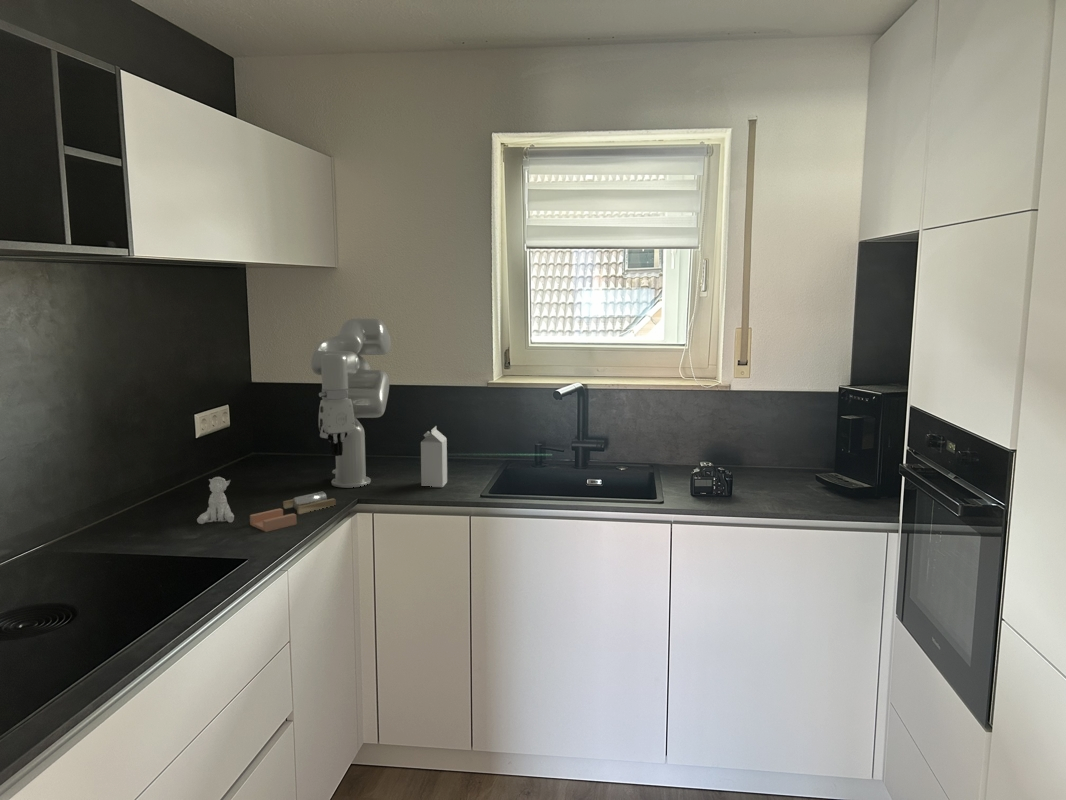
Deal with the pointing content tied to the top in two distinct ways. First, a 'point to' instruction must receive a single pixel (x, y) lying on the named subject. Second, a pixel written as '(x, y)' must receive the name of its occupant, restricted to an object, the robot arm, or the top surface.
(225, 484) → the white creature statuette
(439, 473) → the milk carton
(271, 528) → the cradle
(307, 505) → the channel beam
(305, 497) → the grey cylinder
